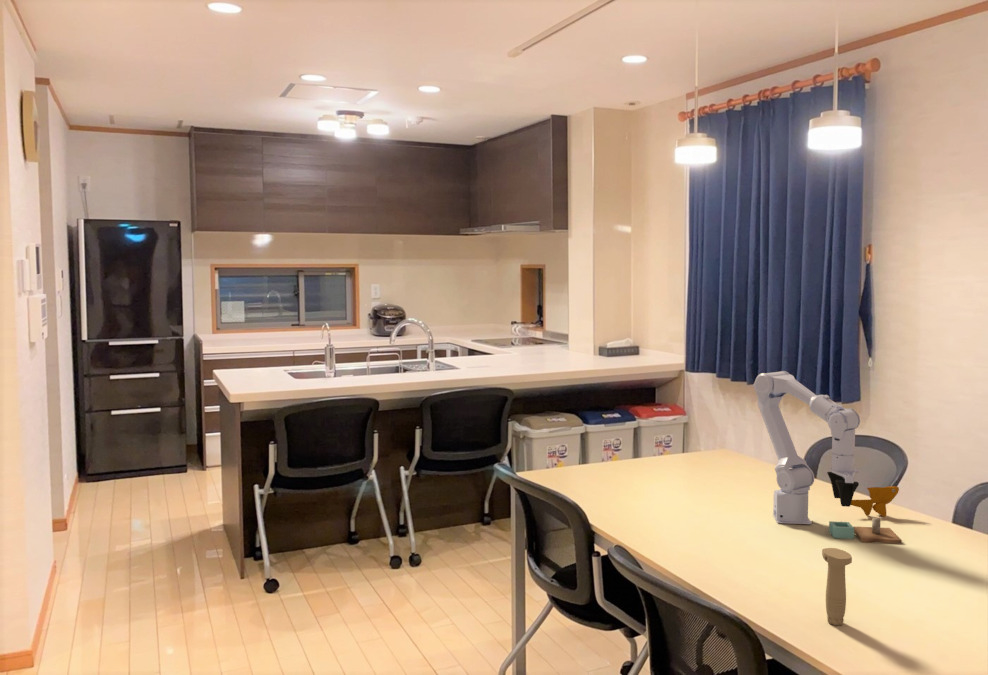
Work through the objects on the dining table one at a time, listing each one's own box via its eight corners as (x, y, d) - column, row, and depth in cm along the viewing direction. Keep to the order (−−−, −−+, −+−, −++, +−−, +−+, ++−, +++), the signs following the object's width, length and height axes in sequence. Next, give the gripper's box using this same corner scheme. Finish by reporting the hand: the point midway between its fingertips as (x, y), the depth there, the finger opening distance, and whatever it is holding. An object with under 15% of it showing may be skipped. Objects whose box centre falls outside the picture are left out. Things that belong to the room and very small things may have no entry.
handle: (834, 630, 165) (835, 559, 163) (815, 617, 171) (817, 549, 170) (855, 628, 165) (856, 557, 164) (836, 615, 172) (837, 547, 170)
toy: (909, 506, 236) (895, 476, 236) (860, 529, 237) (846, 499, 236) (904, 503, 239) (890, 474, 238) (856, 526, 240) (842, 497, 239)
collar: (833, 538, 219) (833, 527, 219) (829, 531, 225) (829, 521, 224) (853, 538, 219) (854, 528, 218) (848, 532, 224) (848, 522, 223)
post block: (861, 542, 216) (862, 523, 216) (851, 529, 226) (852, 512, 225) (901, 543, 214) (902, 525, 214) (889, 531, 224) (890, 513, 224)
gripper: (866, 460, 212) (865, 510, 213) (851, 447, 226) (850, 494, 227) (838, 459, 213) (836, 509, 214) (825, 447, 227) (824, 494, 228)
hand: (842, 502), depth 221 cm, fingers open, 7 cm apart
